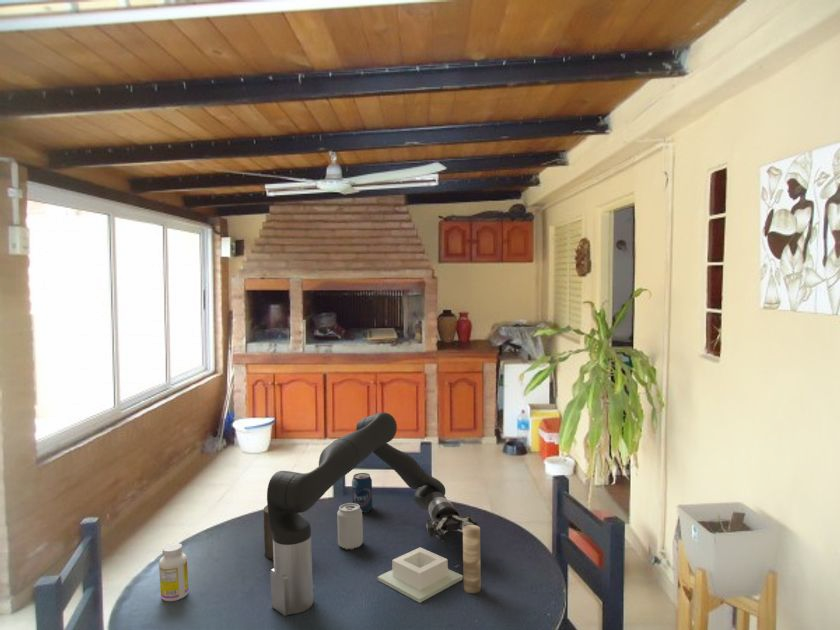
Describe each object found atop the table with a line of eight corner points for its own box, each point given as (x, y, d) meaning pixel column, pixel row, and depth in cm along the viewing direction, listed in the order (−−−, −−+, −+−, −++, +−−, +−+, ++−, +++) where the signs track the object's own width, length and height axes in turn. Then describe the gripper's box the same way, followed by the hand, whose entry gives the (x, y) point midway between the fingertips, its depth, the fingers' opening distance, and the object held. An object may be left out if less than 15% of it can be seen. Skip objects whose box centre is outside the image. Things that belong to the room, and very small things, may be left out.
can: (365, 539, 185) (364, 501, 184) (360, 551, 177) (359, 511, 177) (341, 539, 186) (340, 501, 185) (335, 550, 178) (334, 510, 177)
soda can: (354, 514, 205) (353, 479, 204) (351, 506, 212) (350, 473, 211) (374, 511, 207) (373, 477, 206) (370, 504, 213) (369, 471, 213)
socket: (419, 602, 149) (419, 581, 149) (377, 580, 160) (377, 560, 160) (462, 579, 160) (462, 559, 160) (420, 559, 171) (420, 540, 171)
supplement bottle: (180, 586, 159) (178, 538, 158) (193, 594, 155) (191, 545, 154) (155, 596, 154) (153, 548, 153) (169, 605, 150) (166, 555, 149)
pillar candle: (257, 557, 174) (256, 507, 173) (275, 543, 184) (274, 495, 183) (287, 562, 172) (286, 511, 170) (304, 547, 181) (303, 498, 180)
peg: (473, 595, 152) (472, 533, 151) (460, 589, 155) (459, 528, 154) (484, 588, 155) (483, 528, 154) (471, 582, 158) (470, 523, 157)
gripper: (419, 504, 179) (433, 526, 163) (465, 498, 182) (483, 520, 167) (420, 528, 180) (434, 552, 164) (466, 522, 183) (483, 546, 167)
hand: (459, 536), depth 165 cm, fingers open, 8 cm apart
